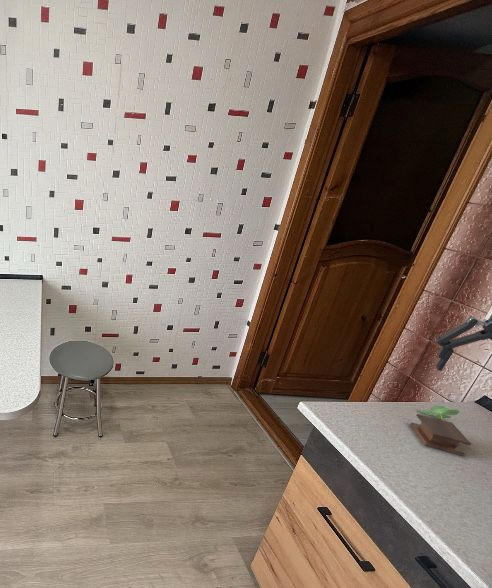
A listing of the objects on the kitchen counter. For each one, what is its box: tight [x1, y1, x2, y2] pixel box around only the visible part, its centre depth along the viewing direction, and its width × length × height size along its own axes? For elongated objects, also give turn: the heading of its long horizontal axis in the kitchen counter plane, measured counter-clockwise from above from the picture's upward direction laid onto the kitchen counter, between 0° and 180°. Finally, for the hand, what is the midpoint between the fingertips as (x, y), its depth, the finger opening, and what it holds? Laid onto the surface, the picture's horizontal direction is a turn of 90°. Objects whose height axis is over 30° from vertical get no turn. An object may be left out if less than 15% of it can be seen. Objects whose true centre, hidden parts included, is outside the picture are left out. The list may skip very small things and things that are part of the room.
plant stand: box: [409, 413, 472, 457], centre depth 91 cm, size 8×8×4 cm
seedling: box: [420, 405, 460, 420], centre depth 97 cm, size 7×8×6 cm
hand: (473, 379), depth 89 cm, fingers open, 13 cm apart
